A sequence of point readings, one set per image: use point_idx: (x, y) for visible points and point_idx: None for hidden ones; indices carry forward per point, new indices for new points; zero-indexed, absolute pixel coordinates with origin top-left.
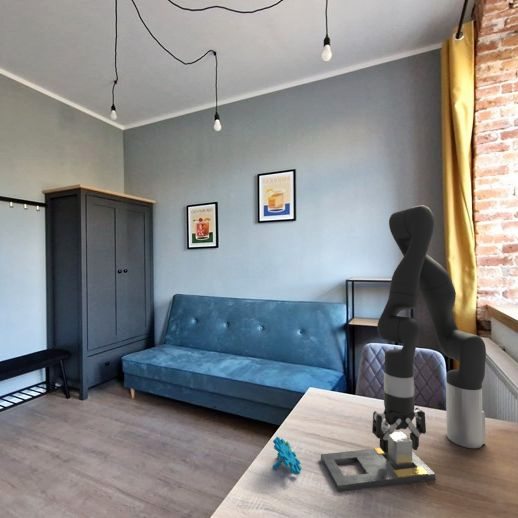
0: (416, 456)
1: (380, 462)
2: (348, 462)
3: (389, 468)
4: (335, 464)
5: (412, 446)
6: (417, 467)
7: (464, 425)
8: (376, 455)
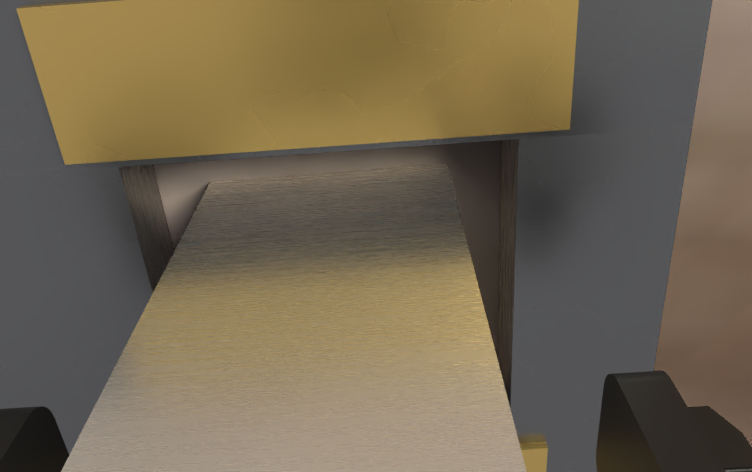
0: (657, 255)
1: (46, 329)
2: None
3: None
4: None
5: (612, 442)
6: None
7: None
8: (21, 187)
